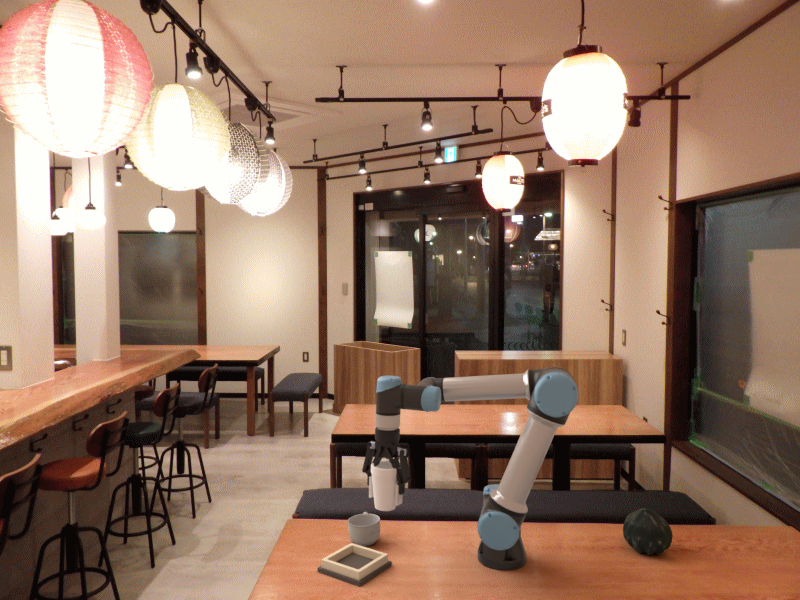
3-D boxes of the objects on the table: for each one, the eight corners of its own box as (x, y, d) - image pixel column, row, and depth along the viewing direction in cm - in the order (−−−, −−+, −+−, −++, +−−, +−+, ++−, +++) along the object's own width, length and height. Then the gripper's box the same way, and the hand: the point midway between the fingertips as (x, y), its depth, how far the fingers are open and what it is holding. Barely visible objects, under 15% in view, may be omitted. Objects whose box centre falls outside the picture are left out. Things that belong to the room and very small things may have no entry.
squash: (657, 521, 212) (633, 492, 208) (689, 541, 197) (664, 509, 194) (629, 552, 210) (605, 522, 206) (659, 574, 195) (633, 543, 192)
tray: (391, 565, 191) (391, 553, 191) (359, 586, 178) (359, 574, 178) (351, 552, 200) (351, 541, 200) (317, 571, 187) (317, 559, 187)
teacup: (375, 550, 202) (375, 526, 201) (343, 547, 204) (343, 523, 203) (385, 533, 215) (385, 510, 215) (355, 531, 217) (355, 508, 217)
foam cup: (377, 514, 183) (378, 471, 183) (364, 504, 191) (366, 462, 191) (406, 510, 187) (407, 467, 187) (392, 500, 196) (393, 459, 195)
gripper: (424, 431, 185) (422, 505, 186) (366, 419, 198) (364, 489, 199) (410, 436, 179) (408, 512, 180) (351, 423, 192) (349, 495, 193)
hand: (385, 500), depth 189 cm, fingers closed on foam cup, 9 cm apart
